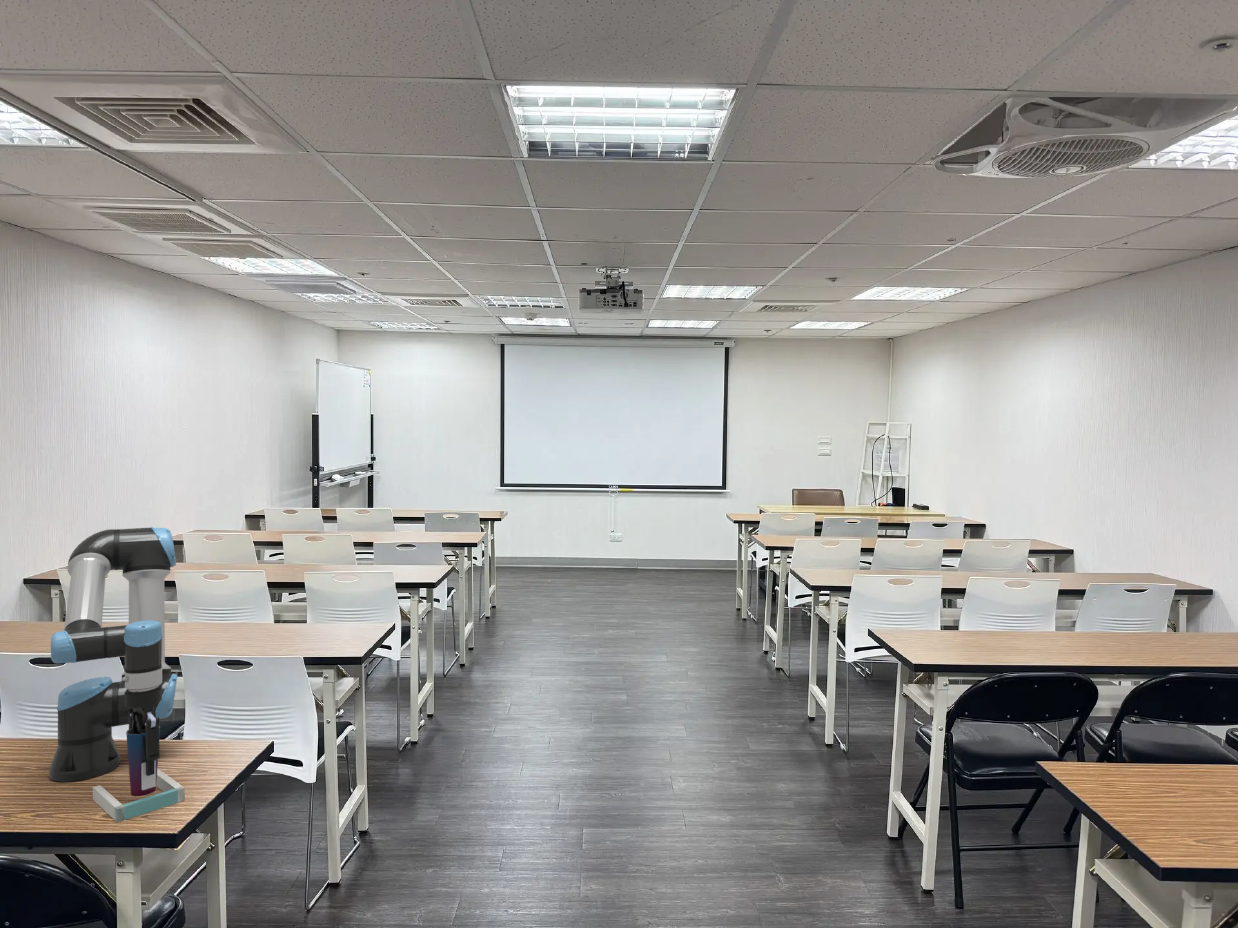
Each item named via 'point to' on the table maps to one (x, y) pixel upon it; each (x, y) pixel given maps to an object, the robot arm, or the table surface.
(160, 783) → the bay
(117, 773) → the table surface
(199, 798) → the table surface
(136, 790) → the cup
